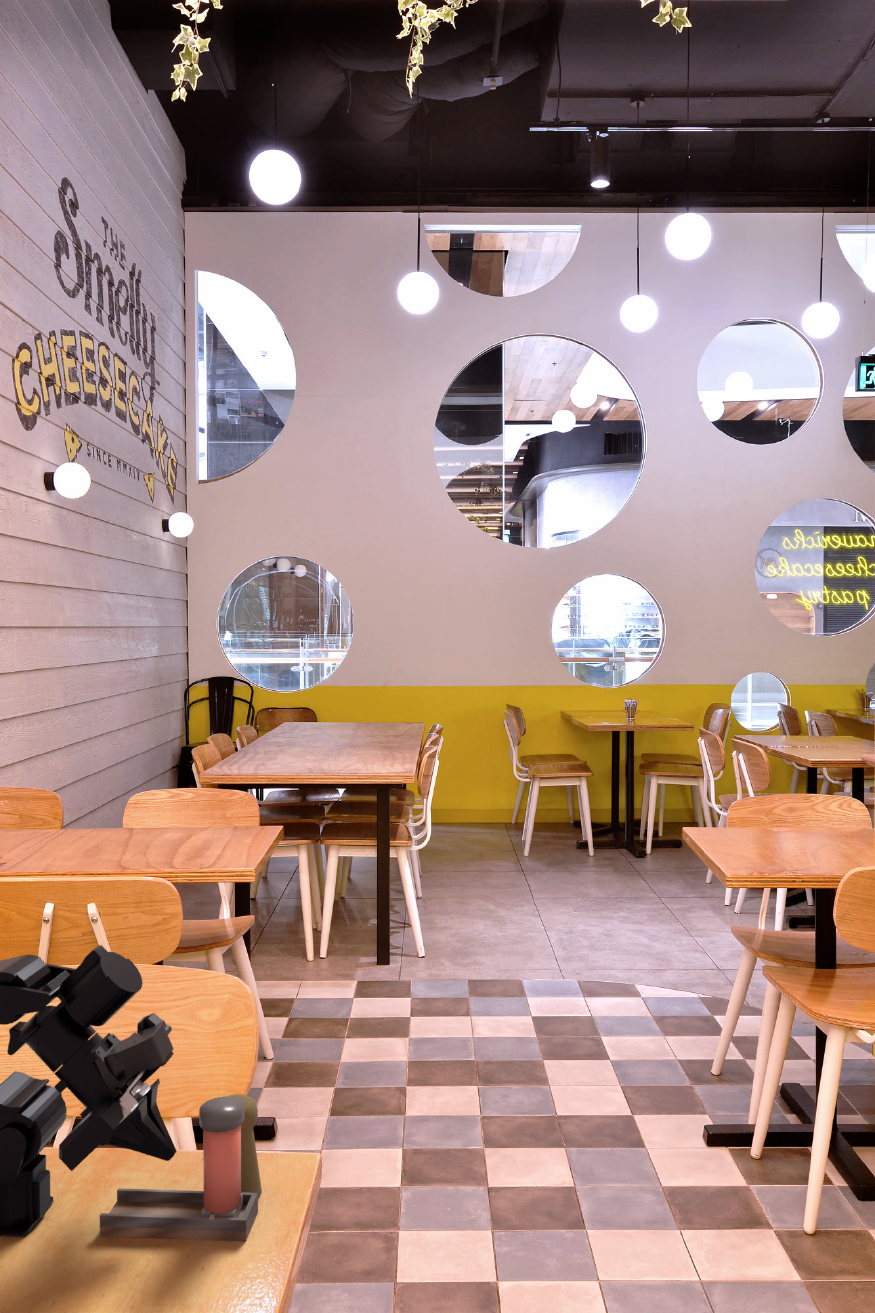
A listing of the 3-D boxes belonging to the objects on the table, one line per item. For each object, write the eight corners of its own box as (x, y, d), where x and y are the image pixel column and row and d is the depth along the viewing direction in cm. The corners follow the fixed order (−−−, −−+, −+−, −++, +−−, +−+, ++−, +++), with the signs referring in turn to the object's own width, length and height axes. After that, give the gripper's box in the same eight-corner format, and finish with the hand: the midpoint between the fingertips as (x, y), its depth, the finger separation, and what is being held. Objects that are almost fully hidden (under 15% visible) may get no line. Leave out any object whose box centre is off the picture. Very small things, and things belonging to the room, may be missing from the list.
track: (99, 1236, 99) (99, 1214, 99) (118, 1207, 104) (118, 1186, 104) (245, 1241, 98) (245, 1219, 98) (258, 1212, 104) (258, 1190, 103)
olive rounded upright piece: (249, 1213, 103) (248, 1115, 103) (199, 1206, 105) (198, 1110, 104) (269, 1182, 109) (269, 1089, 109) (222, 1176, 110) (221, 1085, 110)
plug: (193, 1226, 99) (193, 1117, 99) (207, 1199, 104) (207, 1096, 104) (238, 1228, 99) (237, 1119, 98) (249, 1201, 103) (249, 1097, 103)
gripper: (90, 1039, 92) (197, 1154, 92) (157, 973, 111) (246, 1068, 110) (12, 1113, 93) (118, 1228, 92) (92, 1036, 111) (181, 1131, 111)
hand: (172, 1156), depth 101 cm, fingers closed
